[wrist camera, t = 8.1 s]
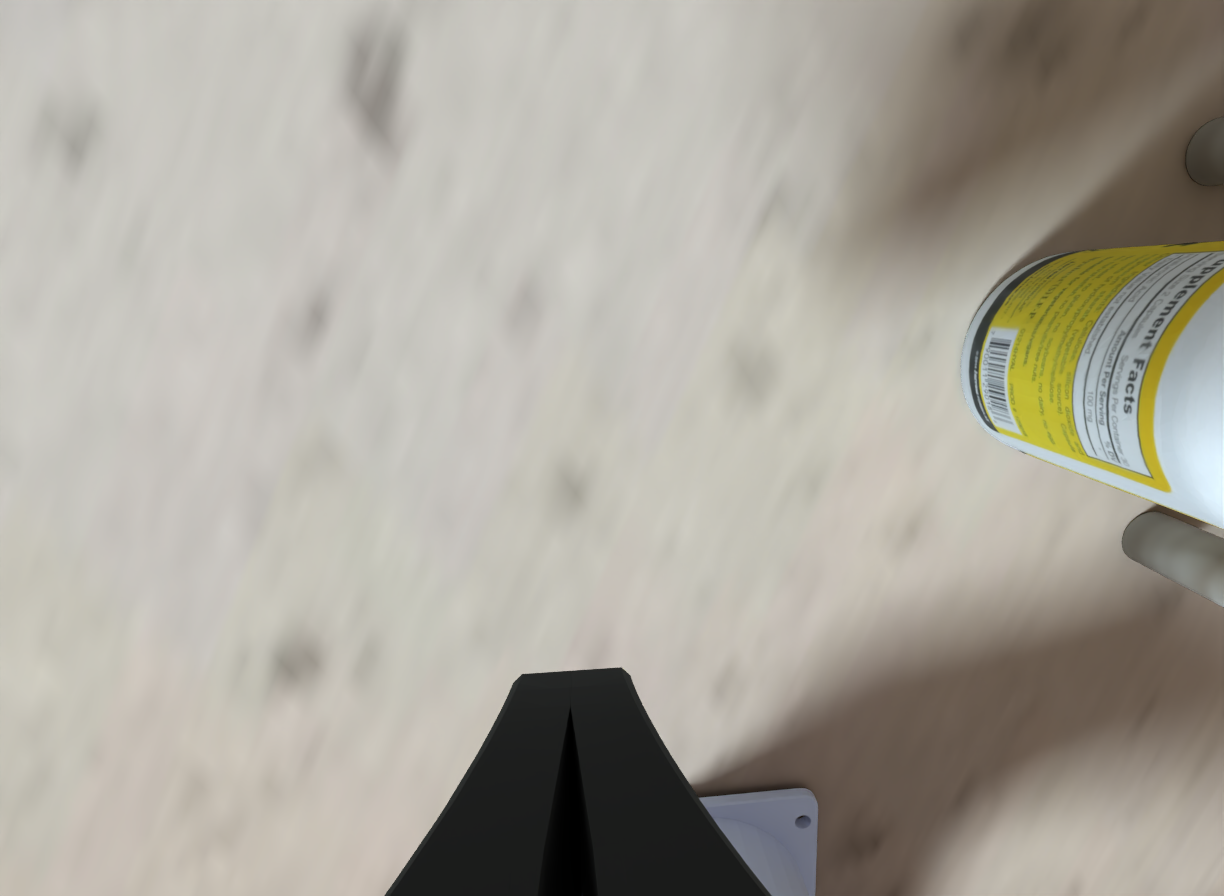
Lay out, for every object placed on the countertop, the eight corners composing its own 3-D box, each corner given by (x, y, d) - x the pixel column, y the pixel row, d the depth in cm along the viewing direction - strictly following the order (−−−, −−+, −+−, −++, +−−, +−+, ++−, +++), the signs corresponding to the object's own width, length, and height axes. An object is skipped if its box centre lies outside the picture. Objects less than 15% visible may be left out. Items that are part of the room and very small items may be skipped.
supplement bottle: (1189, 335, 18) (1872, 404, 8) (1043, 486, 19) (1508, 699, 9) (1059, 204, 17) (1670, 113, 7) (911, 370, 18) (1284, 477, 8)
